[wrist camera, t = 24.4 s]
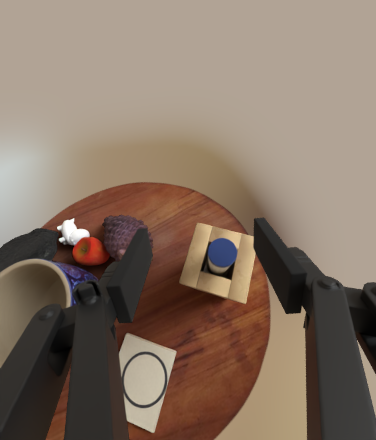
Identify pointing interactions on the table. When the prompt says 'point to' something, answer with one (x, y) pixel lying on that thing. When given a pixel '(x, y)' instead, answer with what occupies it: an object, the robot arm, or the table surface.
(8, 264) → the rock
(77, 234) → the toy creature
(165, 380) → the drawing board
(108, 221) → the pine cone
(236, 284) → the pen block
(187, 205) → the table surface
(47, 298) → the planter
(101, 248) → the apple
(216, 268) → the marker
